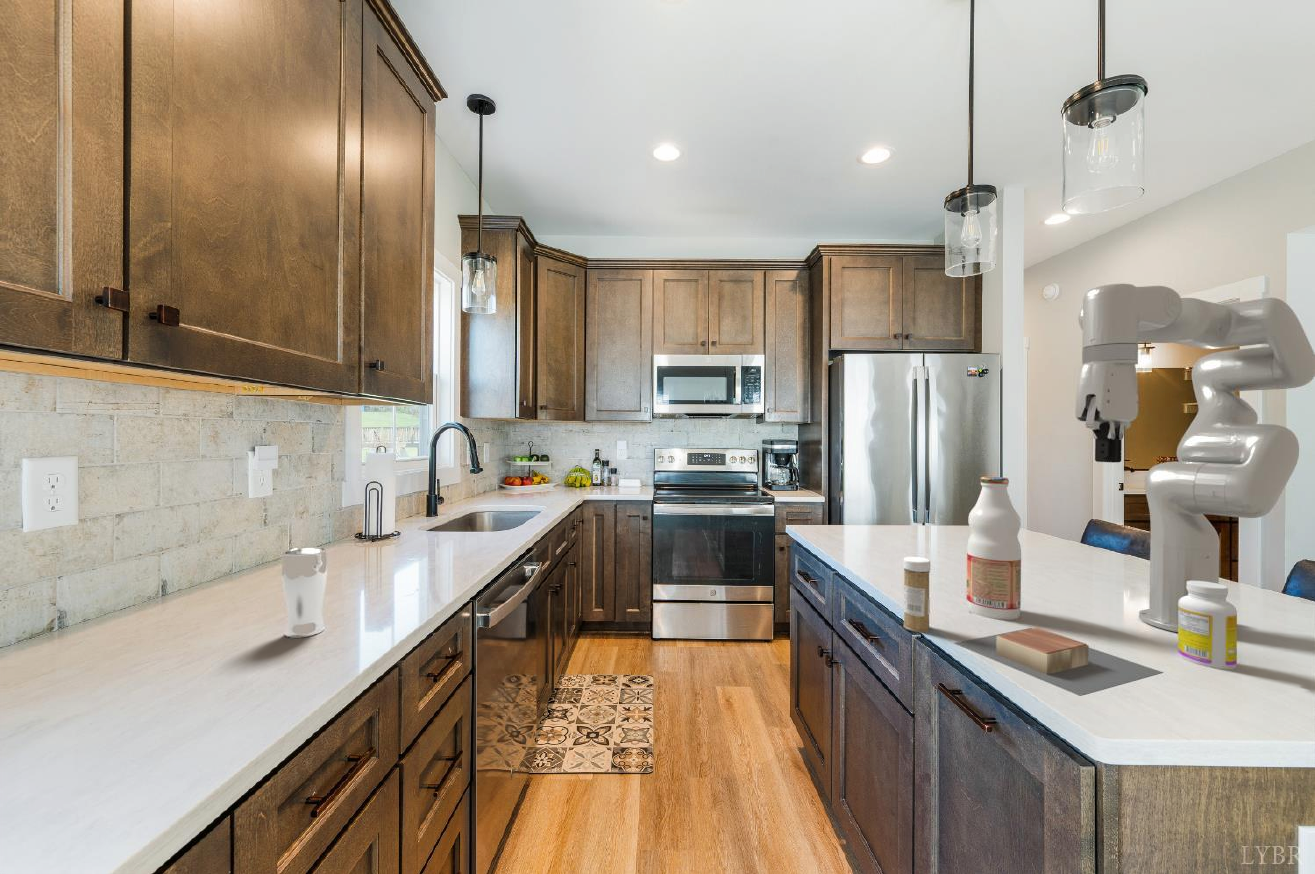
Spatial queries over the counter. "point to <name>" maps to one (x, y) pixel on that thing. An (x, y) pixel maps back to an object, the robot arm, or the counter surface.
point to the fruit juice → (994, 554)
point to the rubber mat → (1077, 680)
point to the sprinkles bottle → (916, 594)
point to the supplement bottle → (1207, 626)
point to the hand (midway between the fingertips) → (1107, 461)
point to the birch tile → (1042, 650)
